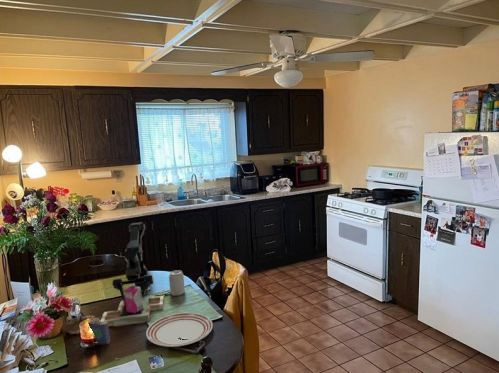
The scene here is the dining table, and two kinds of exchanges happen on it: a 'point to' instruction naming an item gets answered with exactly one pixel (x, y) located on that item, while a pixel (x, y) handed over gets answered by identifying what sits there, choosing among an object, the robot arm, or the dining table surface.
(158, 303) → the trap lane
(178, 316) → the dinner plate
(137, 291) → the supplement box
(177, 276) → the can
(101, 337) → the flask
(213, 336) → the dining table surface
